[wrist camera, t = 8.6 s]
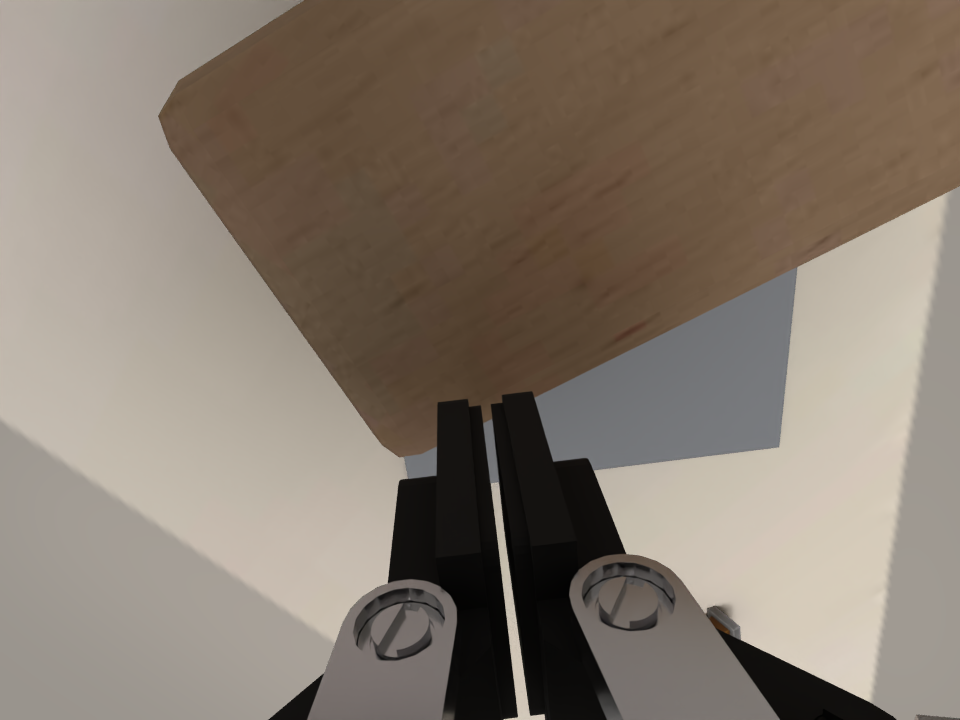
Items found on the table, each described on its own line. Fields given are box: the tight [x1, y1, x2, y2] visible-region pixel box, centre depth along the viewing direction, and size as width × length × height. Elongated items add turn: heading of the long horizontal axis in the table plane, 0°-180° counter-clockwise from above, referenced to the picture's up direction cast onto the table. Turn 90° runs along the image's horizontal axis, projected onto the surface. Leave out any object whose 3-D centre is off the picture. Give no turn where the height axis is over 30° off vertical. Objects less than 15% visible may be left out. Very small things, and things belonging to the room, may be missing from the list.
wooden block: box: [158, 0, 960, 457], centre depth 17 cm, size 10×10×20 cm
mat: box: [404, 267, 797, 483], centre depth 24 cm, size 20×16×1 cm
